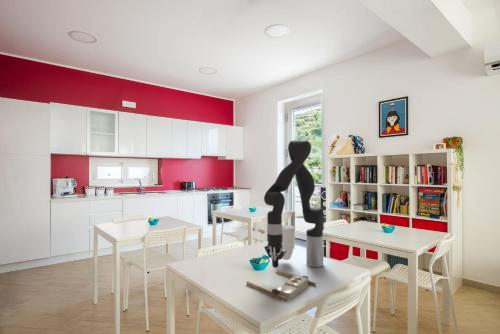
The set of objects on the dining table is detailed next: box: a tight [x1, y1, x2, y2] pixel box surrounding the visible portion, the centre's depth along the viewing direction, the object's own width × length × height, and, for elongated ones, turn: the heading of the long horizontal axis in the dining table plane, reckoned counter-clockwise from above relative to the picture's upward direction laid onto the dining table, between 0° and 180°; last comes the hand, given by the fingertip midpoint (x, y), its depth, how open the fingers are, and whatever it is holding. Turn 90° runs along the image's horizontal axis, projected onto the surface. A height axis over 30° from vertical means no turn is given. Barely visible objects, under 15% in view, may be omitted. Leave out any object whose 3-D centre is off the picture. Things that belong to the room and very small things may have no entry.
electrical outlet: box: [276, 274, 309, 301], centre depth 130 cm, size 7×4×18 cm
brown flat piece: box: [246, 269, 317, 302], centre depth 135 cm, size 24×24×3 cm
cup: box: [281, 224, 296, 261], centre depth 166 cm, size 10×10×22 cm
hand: (275, 267), depth 138 cm, fingers closed
